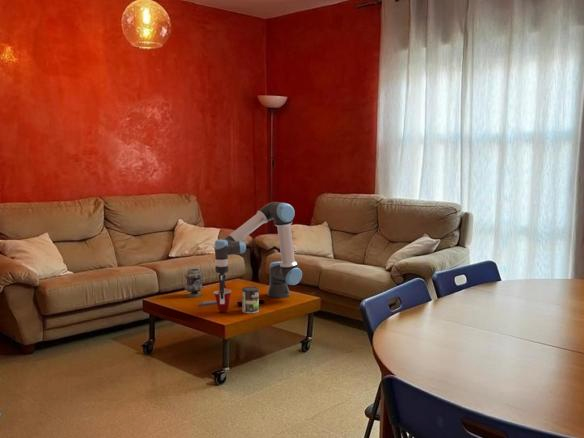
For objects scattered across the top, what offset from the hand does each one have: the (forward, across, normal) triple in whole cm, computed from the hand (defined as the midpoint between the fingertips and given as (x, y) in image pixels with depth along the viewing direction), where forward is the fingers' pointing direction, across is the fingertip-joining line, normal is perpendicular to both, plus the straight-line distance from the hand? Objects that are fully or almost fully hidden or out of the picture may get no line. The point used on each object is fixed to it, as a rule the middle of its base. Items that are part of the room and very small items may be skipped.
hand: (222, 301), depth 333 cm
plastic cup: (+6, 0, 0) cm, 6 cm away
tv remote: (+7, -19, -8) cm, 22 cm away
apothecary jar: (+7, -41, -21) cm, 47 cm away
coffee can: (+7, -1, +17) cm, 18 cm away
